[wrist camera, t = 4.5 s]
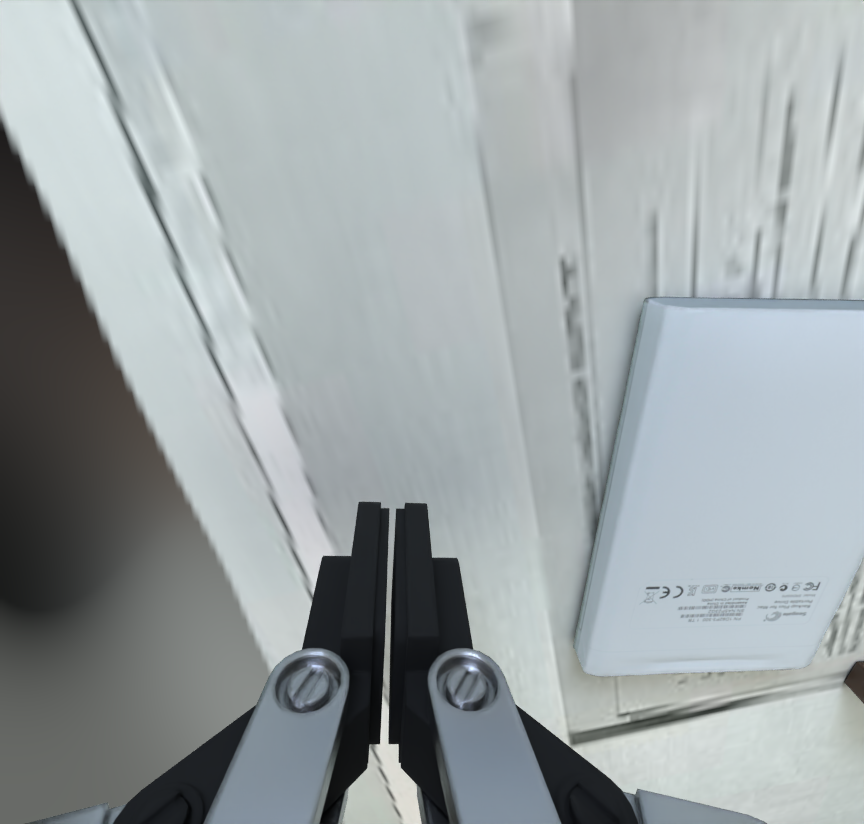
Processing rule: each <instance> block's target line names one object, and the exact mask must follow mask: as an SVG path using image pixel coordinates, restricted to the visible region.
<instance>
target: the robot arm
mask: <svg viewBox="0 0 864 824" xmlns="http://www.w3.org/2000/svg"><path fill="white" fill-rule="evenodd" d="M388 532H389V508H381V502H359V504H358V511H357V519H356V526H355V533H354V541H353V548H352V555H351V556H323V557H322V561H321V565H320V569H319V574H318V578H317V583H316V588H315V592H314V597H313V601H312V606H311V611H310V615H309V620H308V624H307V629H306V634H305V638H304V643H303V647H302V650H300V651H296V652H294V653H293V654H291V655H289V656H287V657H285V658H284V659H283V660H282V661H281V662H280V663H279V664H278V665H276V666H275V668H274V670H273V671H272V673H271V674H270V676H269V678H268V680H267V682H266V685H265V687H264V689H263V691H262V693H261V696H260V698H259V700H258V702H257V705H256V706H254V707H253V708H251V709H250V710H249V711H247V712H246V713H245V714H243V715H242V716H241V717H239V718H238V719H237V720H235V721H234V722H233V723H231V724H230V725H229V726H227V727H226V728H225V729H223V730H222V731H221V732H219V733H218V734H216V735H215V736H214V737H213V738H211V739H210V740H208V741H207V742H206V743H204V744H203V745H202V746H200V747H199V748H198V749H196V750H195V751H194V752H192V753H191V754H190V755H188V756H187V757H186V758H184V759H183V760H181V761H180V762H179V763H178V764H176V765H175V766H174V767H172V768H171V769H169V770H168V771H167V772H166V773H164V774H163V775H161V776H160V777H159V778H157V779H156V780H155V781H153V782H152V783H151V784H149V785H148V786H147V787H145V788H144V789H142V790H141V791H140V792H139V793H138V794H137V795H136V796H135V797H134V798H133V799H131V800H130V801H129V802H128V803H127V804H126V805H122V806H118V807H115V808H111V809H109V805H108V803H103V804H100V805H96V806H92V807H88V808H84V809H80V810H76V811H73V812H69V813H65V814H61V815H58V816H53V817H50V818H46V819H42V820H39V821H34V822H31V823H27V824H342V822H343V817H344V813H345V808H346V803H347V799H348V788H349V786H350V785H351V784H352V783H353V782H354V781H355V780H356V779H357V778H358V777H359V776H360V775H361V774H362V773H363V772H364V771H365V770H366V769H367V763H368V757H369V744H380V730H381V710H382V689H383V668H384V647H385V622H386V592H387V562H388ZM389 744H399V763H401V768H402V769H403V770H404V771H405V772H406V773H407V774H408V776H409V777H410V778H411V779H412V780H413V781H414V782H415V783H416V784H417V797H418V803H419V809H420V816H421V822H422V824H767V823H765V822H764V821H762V820H759V819H757V818H754V817H752V816H750V815H747V814H742V813H738V812H734V811H730V810H725V809H721V808H717V807H713V806H708V805H704V804H700V803H696V802H691V801H687V800H683V799H679V798H674V797H670V796H666V795H662V794H658V793H653V792H649V791H645V790H641V789H637V792H636V794H635V795H634V794H630V793H626V792H623V791H622V790H621V789H620V788H619V787H618V786H617V785H616V784H615V783H614V782H613V781H612V780H611V779H610V778H608V777H607V776H606V775H605V774H603V773H602V772H601V771H599V770H598V769H597V768H596V767H594V766H593V765H592V764H591V763H589V762H588V761H587V760H585V759H584V758H583V757H582V756H580V755H579V754H578V753H577V752H575V751H574V750H573V749H571V748H570V747H569V746H568V745H566V744H565V743H564V742H563V741H561V740H560V739H559V738H558V737H556V736H555V735H554V734H552V733H551V732H550V731H549V730H547V729H546V728H545V727H544V726H542V725H541V724H540V723H538V722H537V721H536V720H535V719H533V718H532V717H531V716H530V715H528V714H527V713H526V712H525V711H523V710H522V709H521V708H519V707H518V706H517V705H516V704H515V702H514V700H513V697H512V695H511V692H510V689H509V687H508V684H507V682H506V679H505V676H504V674H503V673H502V671H501V669H500V667H499V666H498V665H497V664H496V663H495V662H494V661H493V660H492V659H491V658H490V657H489V656H487V655H485V654H483V653H482V652H480V651H476V650H473V646H472V640H471V633H470V627H469V621H468V615H467V609H466V603H465V597H464V591H463V585H462V579H461V573H460V567H459V562H458V559H457V558H432V553H431V542H430V531H429V520H428V509H427V504H425V503H405V509H396V522H395V541H394V560H393V579H392V599H391V644H390V693H389Z"/></svg>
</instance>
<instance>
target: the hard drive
mask: <svg viewBox="0 0 864 824" xmlns="http://www.w3.org/2000/svg"><path fill="white" fill-rule="evenodd" d="M863 558H864V300H824V299H753V298H691V297H649V298H646V299H645V300H644V303H643V308H642V312H641V318H640V322H639V327H638V332H637V337H636V342H635V347H634V352H633V357H632V361H631V366H630V372H629V377H628V381H627V385H626V390H625V395H624V401H623V406H622V411H621V416H620V421H619V426H618V430H617V435H616V439H615V444H614V450H613V454H612V459H611V463H610V469H609V474H608V478H607V483H606V489H605V494H604V499H603V504H602V509H601V512H600V517H599V523H598V527H597V532H596V538H595V542H594V547H593V552H592V557H591V562H590V567H589V572H588V578H587V582H586V586H585V591H584V597H583V602H582V606H581V611H580V616H579V622H578V625H577V629H576V636H575V640H574V644H573V647H574V649H575V651H576V653H577V656H578V658H579V661H580V664H581V666H582V669H583V671H584V672H585V673H587V674H590V675H594V676H600V677H604V676H631V675H651V674H672V673H704V672H737V671H762V670H792V669H801V668H805V667H806V666H808V665H809V664H810V663H811V661H812V659H813V657H814V656H815V654H816V651H817V650H818V648H819V646H820V644H821V641H822V638H823V636H824V634H825V633H826V631H827V629H828V627H829V625H830V623H831V621H832V619H833V617H834V615H835V613H836V611H837V609H838V607H839V606H840V604H841V602H842V600H843V598H844V596H845V594H846V592H847V590H848V588H849V586H850V584H851V582H852V580H853V578H854V576H855V574H856V572H857V570H858V568H859V566H860V564H861V562H862V560H863Z"/></svg>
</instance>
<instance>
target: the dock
mask: <svg viewBox="0 0 864 824" xmlns="http://www.w3.org/2000/svg"><path fill="white" fill-rule="evenodd" d="M845 684H846V685H847V686H848V687H849V688H850V689H851V690H852V691H853V692H854V693H855V694H856V696H857V697H858V698H859V699H860V700H861V701H862V702H863V703H864V662H856V664H855V666H854V667H853V669H852V671H851V672H850V674H849V676H848V677H847V679H846V681H845Z"/></svg>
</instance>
